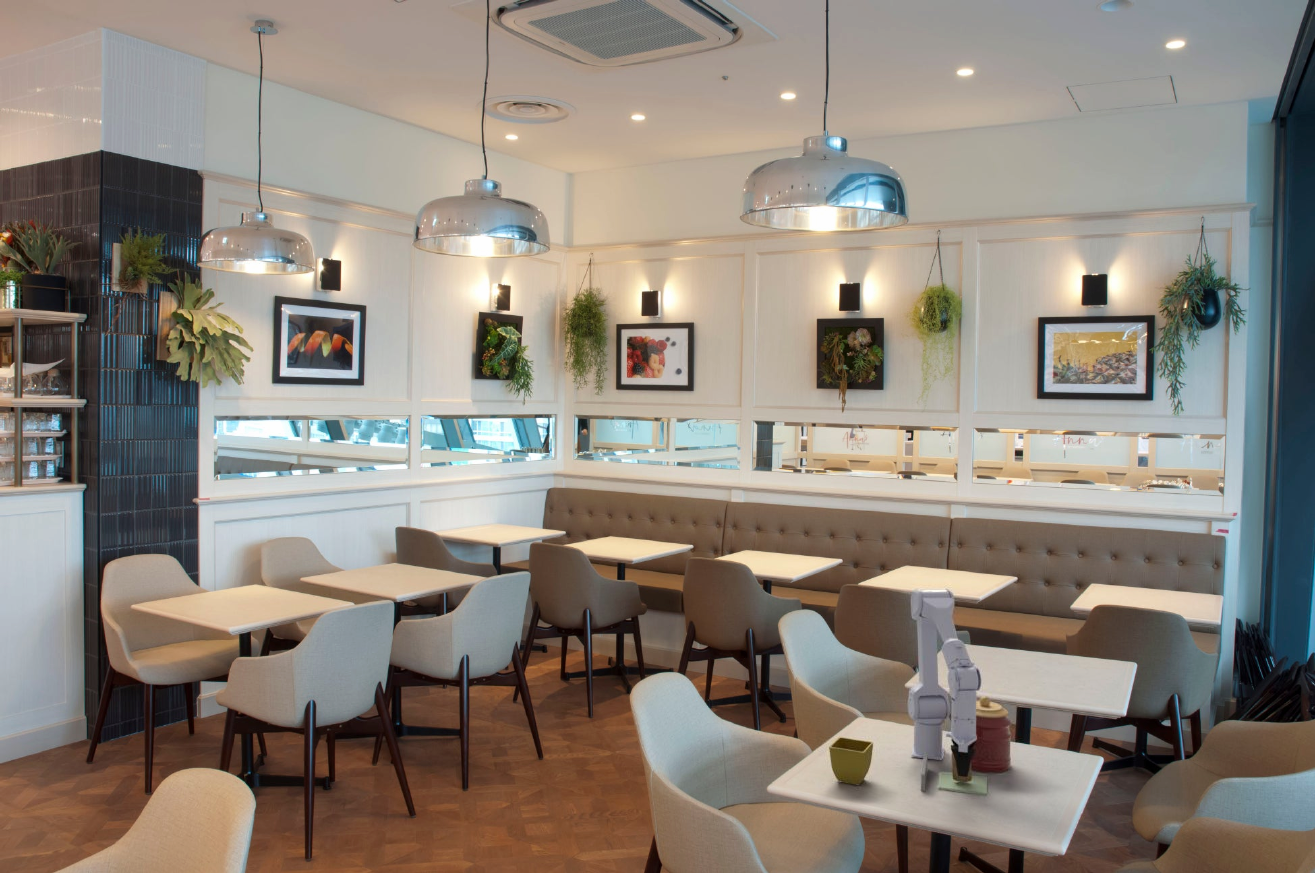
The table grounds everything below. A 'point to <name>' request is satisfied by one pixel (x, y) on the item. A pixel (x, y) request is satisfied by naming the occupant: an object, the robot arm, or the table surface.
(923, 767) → the grey wall
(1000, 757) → the canister
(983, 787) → the green mat
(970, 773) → the walnut cylinder
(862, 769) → the flower pot
